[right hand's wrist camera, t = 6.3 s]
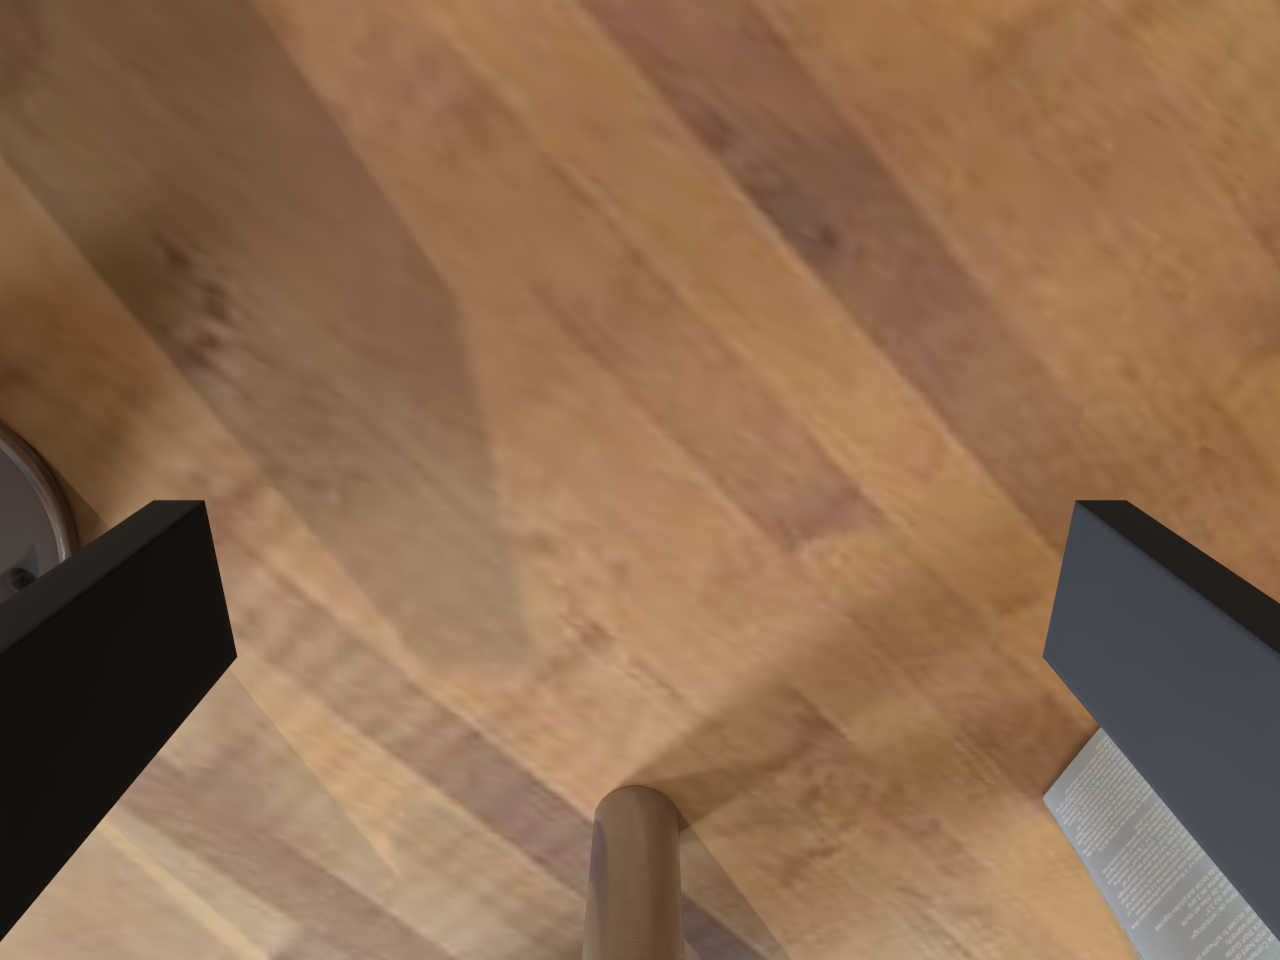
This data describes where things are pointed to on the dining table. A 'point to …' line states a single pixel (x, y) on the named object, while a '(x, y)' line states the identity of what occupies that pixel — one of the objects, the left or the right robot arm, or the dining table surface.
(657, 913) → the grey metal cylinder
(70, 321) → the dining table surface
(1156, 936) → the hard drive box
